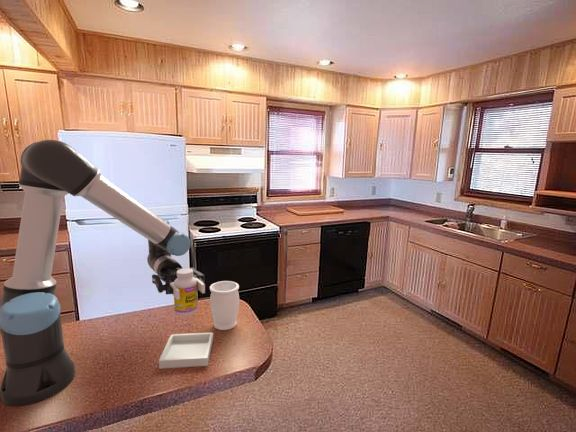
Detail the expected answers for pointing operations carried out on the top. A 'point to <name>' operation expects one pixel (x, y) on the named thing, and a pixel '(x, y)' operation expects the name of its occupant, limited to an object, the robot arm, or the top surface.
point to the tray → (187, 350)
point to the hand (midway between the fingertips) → (191, 291)
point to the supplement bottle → (186, 292)
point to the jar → (224, 304)
